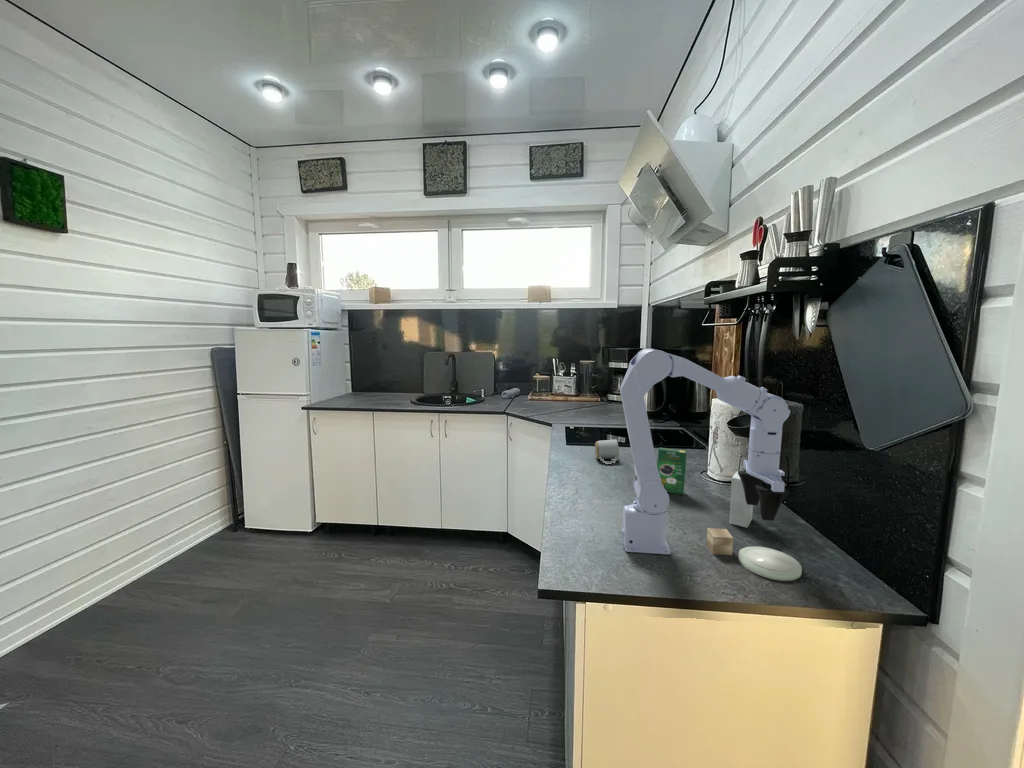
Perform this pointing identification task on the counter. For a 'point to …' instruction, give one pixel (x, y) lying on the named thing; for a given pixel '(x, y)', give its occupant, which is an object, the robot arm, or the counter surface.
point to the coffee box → (672, 469)
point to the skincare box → (739, 504)
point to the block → (719, 541)
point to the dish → (770, 563)
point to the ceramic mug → (607, 450)
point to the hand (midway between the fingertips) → (759, 511)
